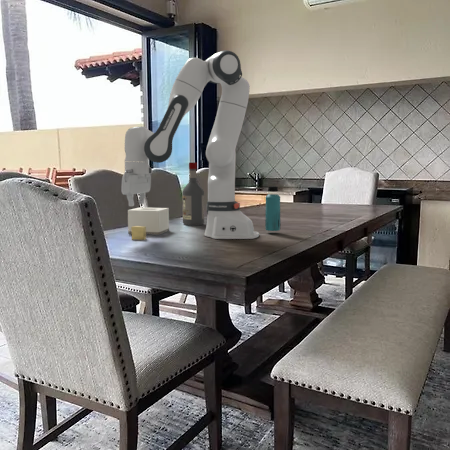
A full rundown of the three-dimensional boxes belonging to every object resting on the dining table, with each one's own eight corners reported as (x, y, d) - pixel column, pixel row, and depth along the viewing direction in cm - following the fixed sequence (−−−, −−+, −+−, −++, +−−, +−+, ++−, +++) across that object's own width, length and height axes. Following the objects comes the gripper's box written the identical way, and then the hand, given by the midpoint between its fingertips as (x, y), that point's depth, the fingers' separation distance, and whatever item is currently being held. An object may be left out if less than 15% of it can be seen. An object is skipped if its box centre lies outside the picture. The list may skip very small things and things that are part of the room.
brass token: (146, 238, 177) (145, 226, 176) (143, 239, 175) (143, 227, 174) (134, 238, 178) (133, 226, 177) (131, 239, 176) (131, 226, 175)
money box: (169, 230, 199) (168, 208, 197) (159, 234, 187) (158, 210, 186) (139, 229, 202) (139, 207, 200) (128, 233, 190) (127, 210, 189)
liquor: (198, 222, 225) (198, 162, 220) (205, 224, 216) (205, 162, 212) (181, 223, 221) (180, 162, 217) (187, 226, 213) (186, 162, 208)
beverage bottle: (279, 234, 186) (280, 186, 183) (263, 234, 187) (264, 186, 184) (281, 232, 192) (281, 185, 189) (265, 232, 194) (266, 185, 191)
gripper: (132, 169, 162) (133, 207, 164) (153, 169, 182) (153, 203, 183) (116, 169, 163) (117, 207, 165) (139, 169, 183) (139, 202, 185)
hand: (136, 205), depth 174 cm, fingers open, 8 cm apart
